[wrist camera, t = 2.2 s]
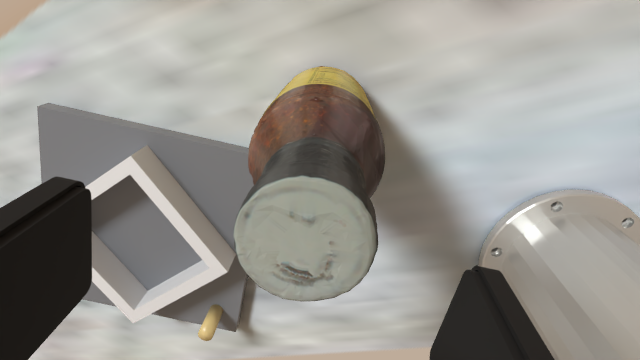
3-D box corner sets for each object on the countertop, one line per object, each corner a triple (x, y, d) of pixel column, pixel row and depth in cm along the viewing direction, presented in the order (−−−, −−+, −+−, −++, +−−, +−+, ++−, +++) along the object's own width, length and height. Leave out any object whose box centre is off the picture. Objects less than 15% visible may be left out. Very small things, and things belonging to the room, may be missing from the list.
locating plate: (269, 152, 31) (258, 172, 27) (239, 322, 38) (226, 358, 34) (48, 103, 31) (5, 116, 27) (56, 283, 37) (23, 315, 33)
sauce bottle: (322, 164, 31) (287, 379, 13) (264, 103, 30) (131, 250, 11) (389, 107, 29) (460, 266, 11) (331, 40, 28) (300, 92, 9)
